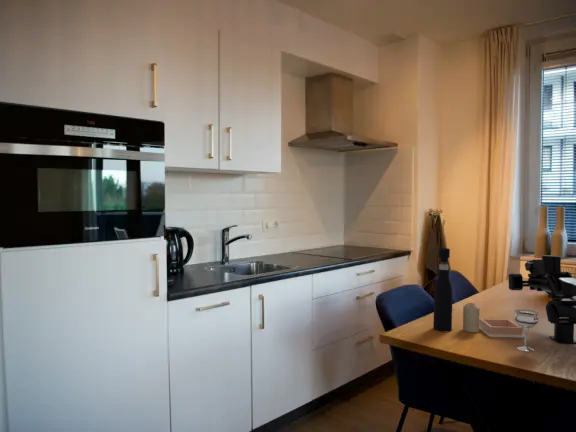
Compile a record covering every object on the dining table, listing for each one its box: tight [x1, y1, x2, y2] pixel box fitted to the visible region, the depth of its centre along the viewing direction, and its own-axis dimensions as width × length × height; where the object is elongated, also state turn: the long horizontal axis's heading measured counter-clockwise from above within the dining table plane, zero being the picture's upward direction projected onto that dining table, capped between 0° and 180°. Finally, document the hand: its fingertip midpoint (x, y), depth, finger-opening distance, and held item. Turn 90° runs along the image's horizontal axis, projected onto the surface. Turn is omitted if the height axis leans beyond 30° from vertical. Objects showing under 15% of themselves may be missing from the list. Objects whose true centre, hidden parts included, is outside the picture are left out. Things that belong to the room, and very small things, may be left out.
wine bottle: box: [433, 247, 454, 332], centre depth 164 cm, size 6×6×30 cm
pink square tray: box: [479, 318, 525, 339], centre depth 161 cm, size 12×12×3 cm
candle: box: [462, 302, 480, 334], centre depth 163 cm, size 6×6×10 cm
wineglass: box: [514, 309, 539, 352], centre depth 143 cm, size 7×7×12 cm
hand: (520, 279), depth 176 cm, fingers open, 9 cm apart
